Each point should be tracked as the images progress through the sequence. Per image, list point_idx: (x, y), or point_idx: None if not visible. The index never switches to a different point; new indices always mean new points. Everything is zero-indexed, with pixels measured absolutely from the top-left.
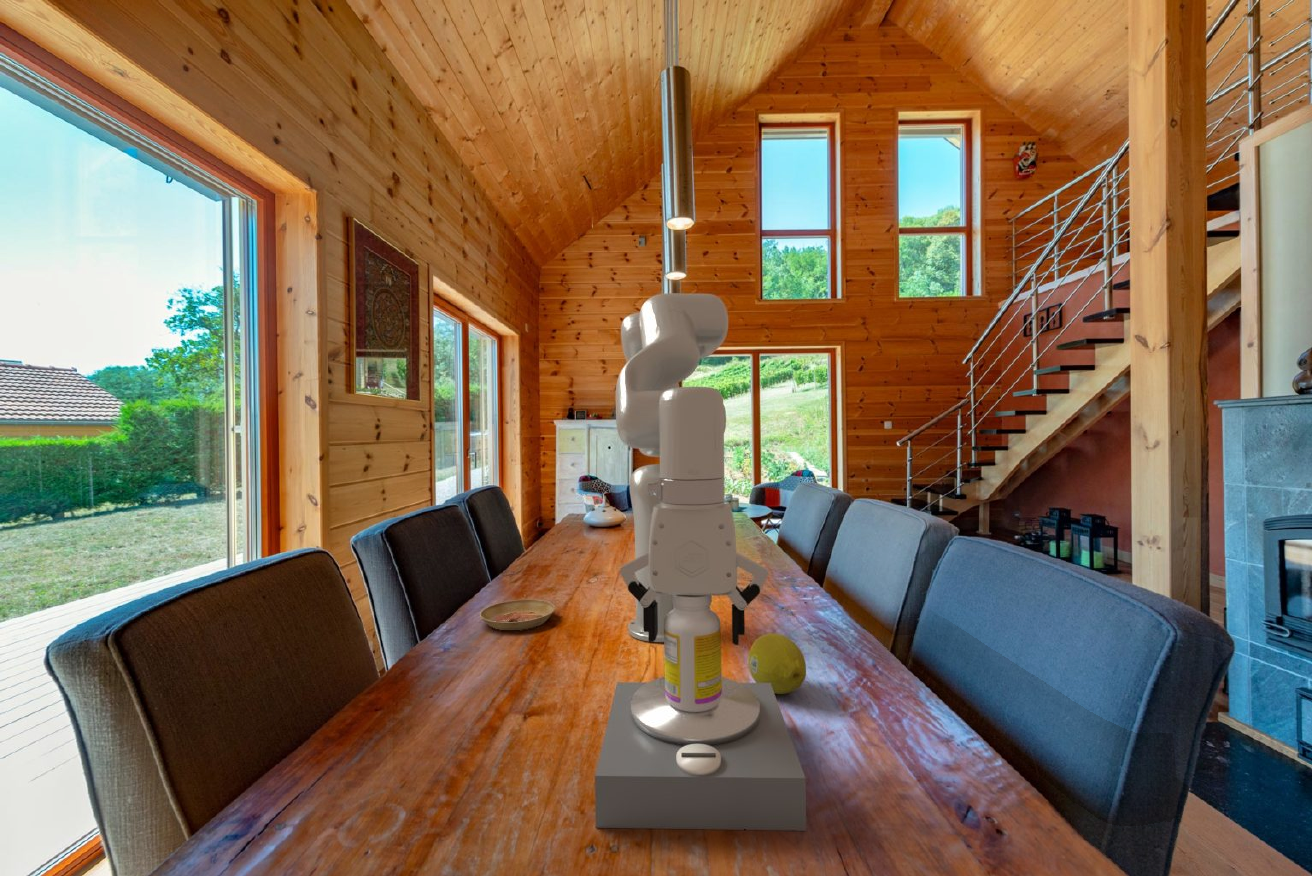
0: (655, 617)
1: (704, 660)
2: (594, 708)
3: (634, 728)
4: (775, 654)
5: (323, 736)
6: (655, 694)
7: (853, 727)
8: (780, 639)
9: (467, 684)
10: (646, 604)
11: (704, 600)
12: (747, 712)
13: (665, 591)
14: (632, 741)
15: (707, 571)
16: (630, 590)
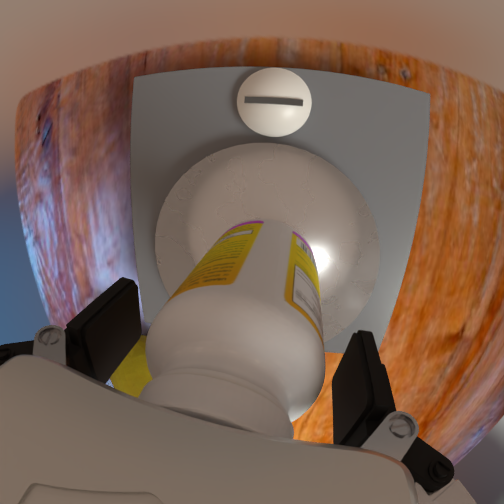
0: (353, 392)
1: (220, 255)
2: (389, 347)
3: (374, 213)
4: (132, 369)
5: None
6: (331, 295)
7: (90, 269)
8: (122, 389)
9: (488, 383)
10: (395, 421)
11: (150, 392)
12: (175, 216)
13: (339, 453)
14: (380, 173)
15: (42, 474)
16: (446, 461)
